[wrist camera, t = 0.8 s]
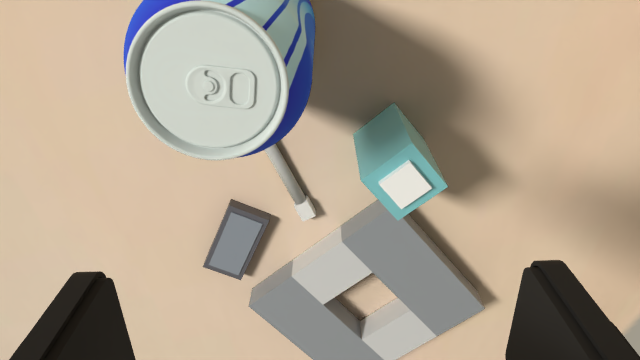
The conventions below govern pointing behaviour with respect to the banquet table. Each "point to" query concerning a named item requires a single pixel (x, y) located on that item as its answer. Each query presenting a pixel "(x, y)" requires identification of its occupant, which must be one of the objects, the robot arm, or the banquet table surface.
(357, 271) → the socket plate
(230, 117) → the beer can
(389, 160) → the block
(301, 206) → the cable
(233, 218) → the phone
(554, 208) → the banquet table surface
